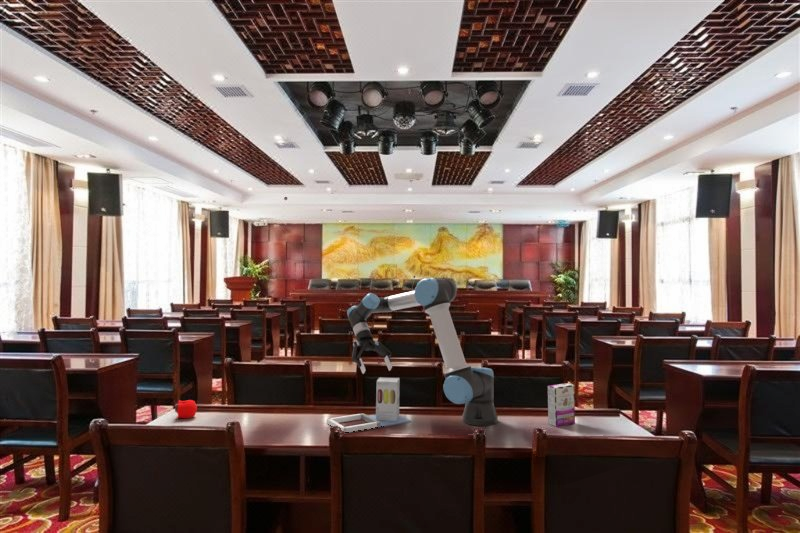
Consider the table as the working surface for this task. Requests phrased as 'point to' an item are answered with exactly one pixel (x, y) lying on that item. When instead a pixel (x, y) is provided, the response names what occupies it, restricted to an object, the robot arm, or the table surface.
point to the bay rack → (370, 419)
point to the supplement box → (387, 399)
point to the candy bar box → (561, 405)
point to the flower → (186, 409)
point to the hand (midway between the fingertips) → (377, 370)
